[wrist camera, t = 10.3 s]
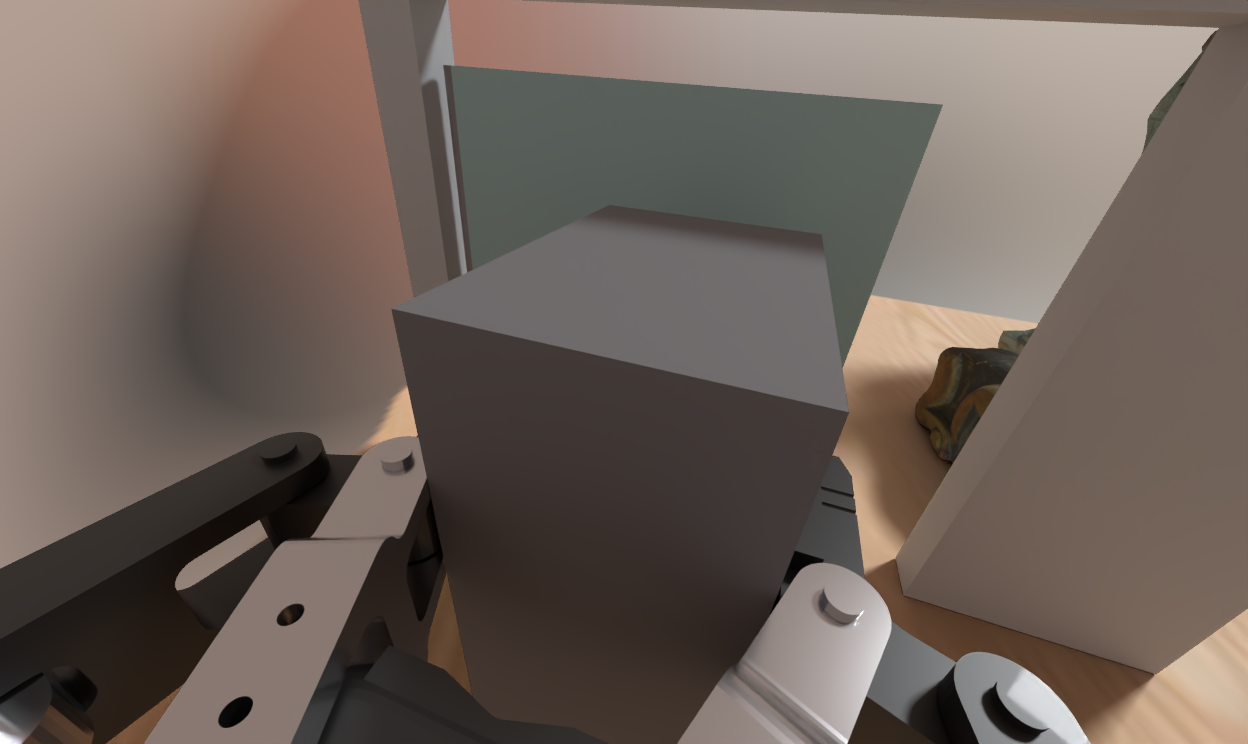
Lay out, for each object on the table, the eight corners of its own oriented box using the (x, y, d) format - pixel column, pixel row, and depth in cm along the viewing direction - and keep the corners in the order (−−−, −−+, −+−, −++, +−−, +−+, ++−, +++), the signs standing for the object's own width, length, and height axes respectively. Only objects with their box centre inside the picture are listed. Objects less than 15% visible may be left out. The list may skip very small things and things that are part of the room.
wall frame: (1126, 625, 19) (1978, -95, 8) (1156, 674, 18) (2293, -146, 6) (463, 429, 27) (388, -81, 15) (442, 450, 25) (339, -103, 14)
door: (778, 503, 23) (922, 104, 14) (776, 540, 21) (943, 104, 12) (506, 425, 27) (476, 68, 18) (483, 450, 25) (435, 64, 16)
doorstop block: (735, 538, 17) (821, 234, 11) (691, 814, 10) (849, 411, 4) (595, 495, 18) (609, 204, 12) (476, 714, 11) (391, 308, 6)
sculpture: (1143, 607, 20) (1269, 496, 17) (982, 569, 21) (1068, 457, 18) (1004, 429, 31) (1062, 339, 28) (904, 410, 32) (946, 321, 29)
